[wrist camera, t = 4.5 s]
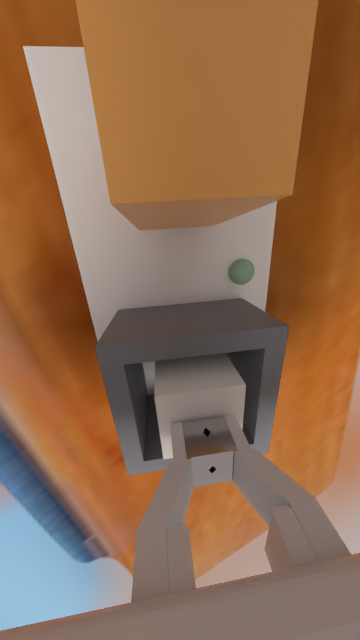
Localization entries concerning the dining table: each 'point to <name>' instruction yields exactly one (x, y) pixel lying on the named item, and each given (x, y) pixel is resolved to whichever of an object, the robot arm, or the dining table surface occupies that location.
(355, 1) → the dining table surface
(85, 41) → the orange rectangular block
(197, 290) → the breaker panel
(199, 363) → the button
